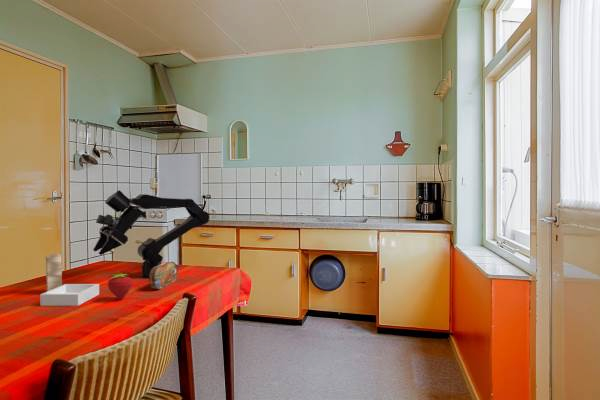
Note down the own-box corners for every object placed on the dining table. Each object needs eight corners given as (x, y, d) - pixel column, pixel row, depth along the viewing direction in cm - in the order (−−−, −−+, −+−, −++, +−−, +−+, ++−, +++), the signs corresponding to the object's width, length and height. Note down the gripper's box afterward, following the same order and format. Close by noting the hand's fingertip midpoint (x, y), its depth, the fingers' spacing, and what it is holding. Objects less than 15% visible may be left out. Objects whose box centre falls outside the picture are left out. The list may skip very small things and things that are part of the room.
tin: (155, 292, 123) (155, 268, 123) (147, 291, 124) (147, 268, 123) (178, 281, 138) (178, 259, 137) (171, 280, 138) (171, 259, 138)
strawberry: (128, 302, 112) (127, 271, 112) (104, 302, 112) (103, 271, 111) (136, 296, 118) (135, 267, 117) (113, 297, 117) (112, 267, 117)
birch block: (60, 290, 125) (59, 253, 125) (62, 292, 122) (61, 255, 122) (46, 292, 123) (45, 255, 122) (48, 294, 120) (47, 256, 119)
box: (99, 294, 120) (99, 284, 120) (78, 305, 109) (77, 294, 109) (65, 294, 120) (65, 284, 120) (40, 305, 109) (40, 294, 109)
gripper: (103, 205, 141) (73, 236, 134) (116, 207, 127) (83, 242, 120) (126, 223, 146) (98, 253, 140) (140, 226, 132) (110, 261, 126)
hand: (96, 252), depth 131 cm, fingers open, 9 cm apart
